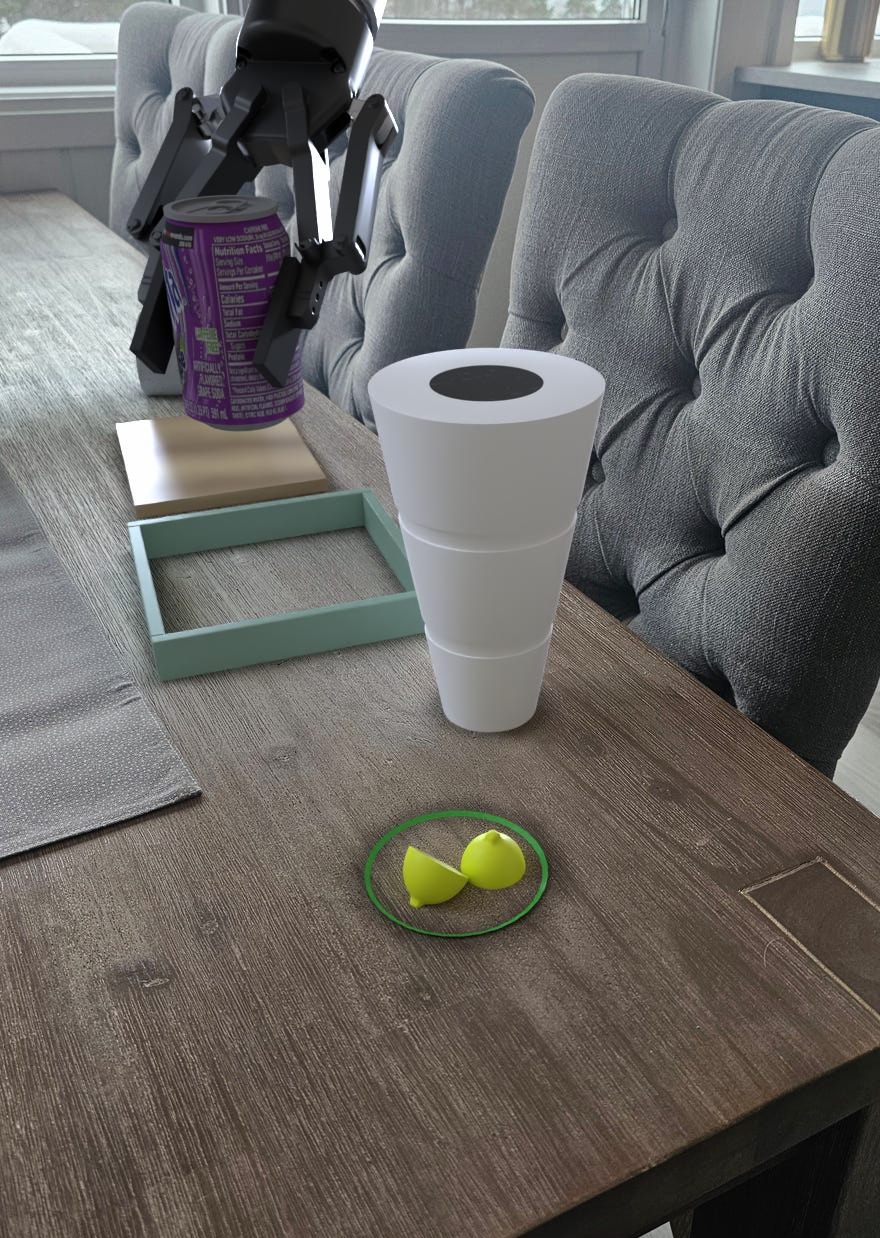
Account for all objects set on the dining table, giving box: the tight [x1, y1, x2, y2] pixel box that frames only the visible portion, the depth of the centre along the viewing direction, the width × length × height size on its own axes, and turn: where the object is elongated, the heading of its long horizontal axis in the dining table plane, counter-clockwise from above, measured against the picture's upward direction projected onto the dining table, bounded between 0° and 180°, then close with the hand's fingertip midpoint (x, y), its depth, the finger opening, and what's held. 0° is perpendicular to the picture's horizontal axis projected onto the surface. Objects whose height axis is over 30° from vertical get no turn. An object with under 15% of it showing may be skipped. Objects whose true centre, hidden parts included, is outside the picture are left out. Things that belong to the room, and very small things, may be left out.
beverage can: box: [160, 194, 306, 432], centre depth 64 cm, size 7×7×12 cm
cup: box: [367, 347, 606, 733], centre depth 55 cm, size 11×11×18 cm
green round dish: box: [363, 810, 549, 937], centre depth 48 cm, size 8×8×3 cm
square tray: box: [126, 486, 426, 683], centre depth 70 cm, size 17×17×3 cm
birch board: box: [114, 414, 329, 520], centre depth 89 cm, size 18×14×2 cm
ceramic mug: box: [134, 311, 182, 397], centre depth 104 cm, size 11×8×8 cm
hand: (206, 368), depth 63 cm, fingers closed on beverage can, 7 cm apart
